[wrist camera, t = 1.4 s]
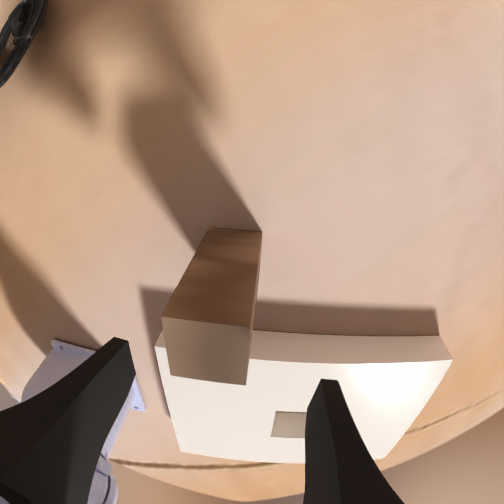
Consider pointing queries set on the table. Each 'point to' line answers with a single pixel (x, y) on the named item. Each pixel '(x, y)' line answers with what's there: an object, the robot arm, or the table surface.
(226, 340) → the walnut peg
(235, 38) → the table surface
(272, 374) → the socket base
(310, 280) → the table surface
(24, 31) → the milk frother
